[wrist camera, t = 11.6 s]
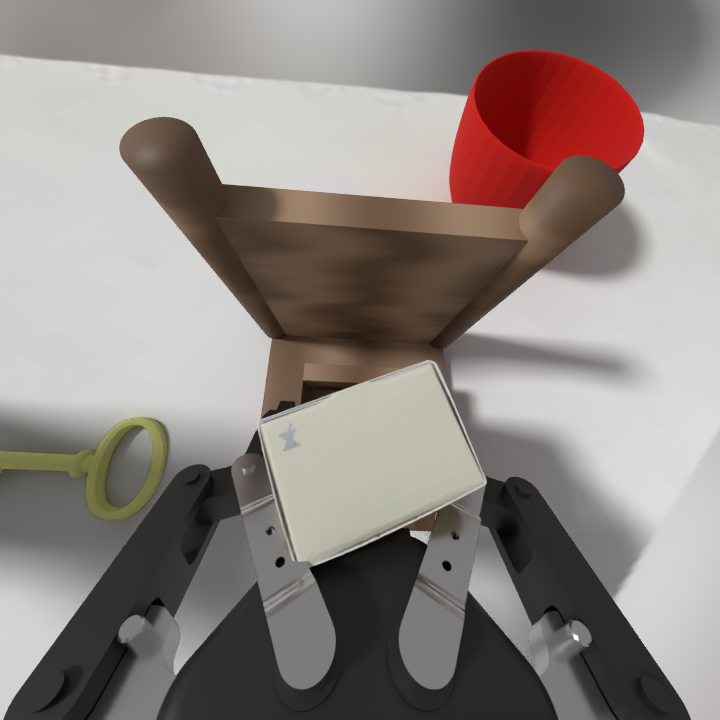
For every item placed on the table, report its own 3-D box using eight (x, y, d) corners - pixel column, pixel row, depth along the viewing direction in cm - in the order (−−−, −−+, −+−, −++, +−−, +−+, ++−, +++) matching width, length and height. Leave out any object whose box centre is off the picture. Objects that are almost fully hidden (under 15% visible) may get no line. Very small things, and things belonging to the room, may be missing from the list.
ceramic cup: (552, 164, 31) (644, 45, 22) (537, 282, 27) (646, 197, 17) (448, 135, 32) (493, 5, 22) (416, 246, 27) (456, 144, 17)
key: (3, 451, 20) (-36, 453, 18) (169, 411, 22) (150, 409, 20) (-6, 553, 19) (-49, 569, 17) (175, 503, 20) (156, 511, 18)
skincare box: (322, 488, 18) (281, 587, 7) (304, 429, 19) (241, 423, 8) (405, 454, 19) (498, 489, 8) (383, 399, 20) (436, 354, 9)
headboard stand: (241, 502, 20) (-116, 745, 4) (268, 317, 24) (131, 114, 9) (456, 508, 21) (787, 740, 5) (447, 328, 25) (616, 158, 9)
